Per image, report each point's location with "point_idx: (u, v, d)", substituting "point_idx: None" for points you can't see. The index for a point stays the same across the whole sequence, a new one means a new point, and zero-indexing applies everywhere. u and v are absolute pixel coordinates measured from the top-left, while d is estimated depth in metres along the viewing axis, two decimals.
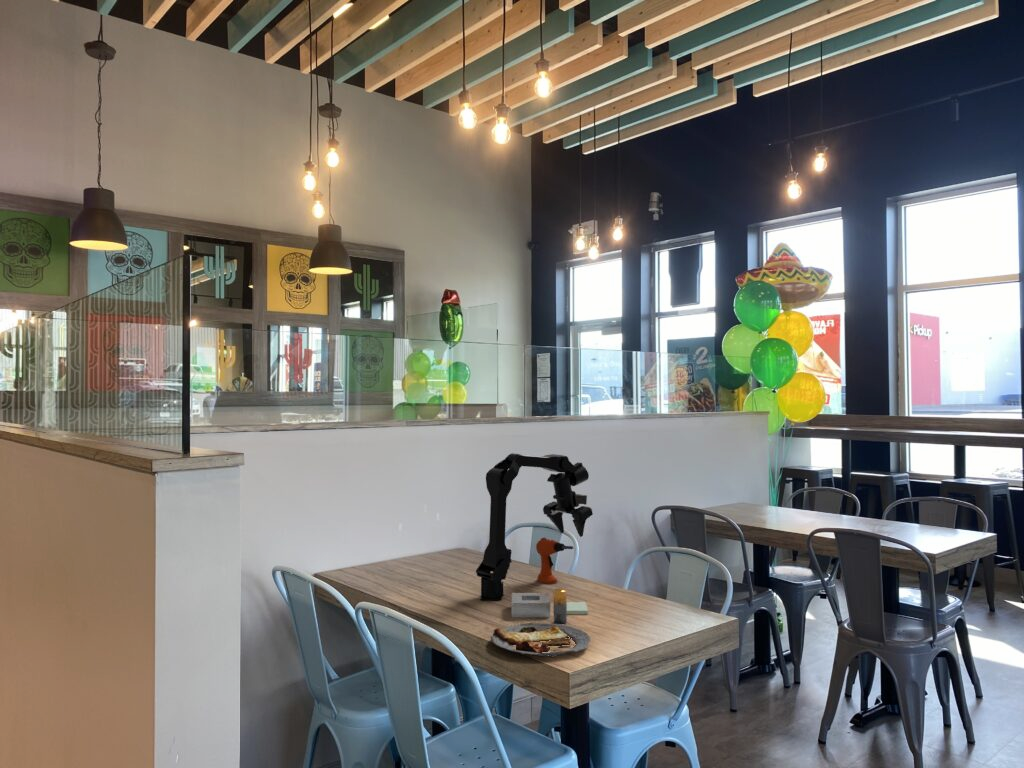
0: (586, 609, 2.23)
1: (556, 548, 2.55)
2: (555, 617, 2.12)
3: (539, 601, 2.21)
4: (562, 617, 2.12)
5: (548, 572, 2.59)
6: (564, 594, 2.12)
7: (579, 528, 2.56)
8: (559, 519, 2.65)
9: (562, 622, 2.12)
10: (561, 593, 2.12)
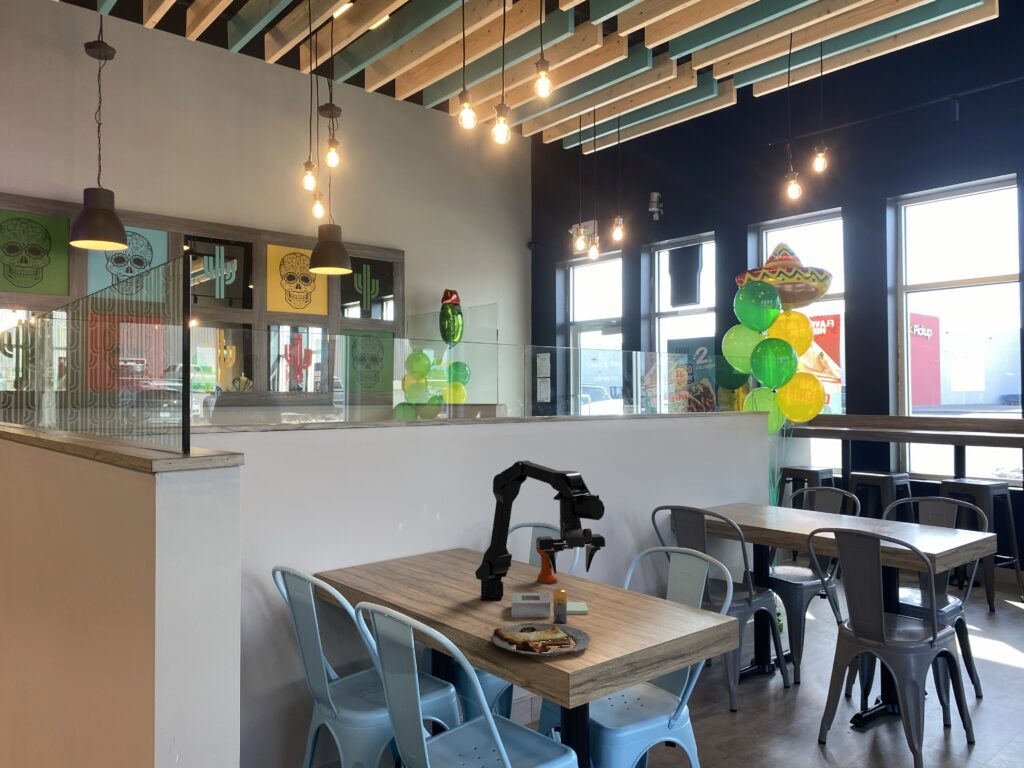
0: (586, 609, 2.23)
1: (556, 548, 2.55)
2: (555, 617, 2.12)
3: (539, 601, 2.21)
4: (562, 617, 2.12)
5: (548, 572, 2.59)
6: (564, 594, 2.12)
7: (549, 560, 2.17)
8: (587, 554, 2.17)
9: (562, 622, 2.12)
10: (561, 593, 2.12)
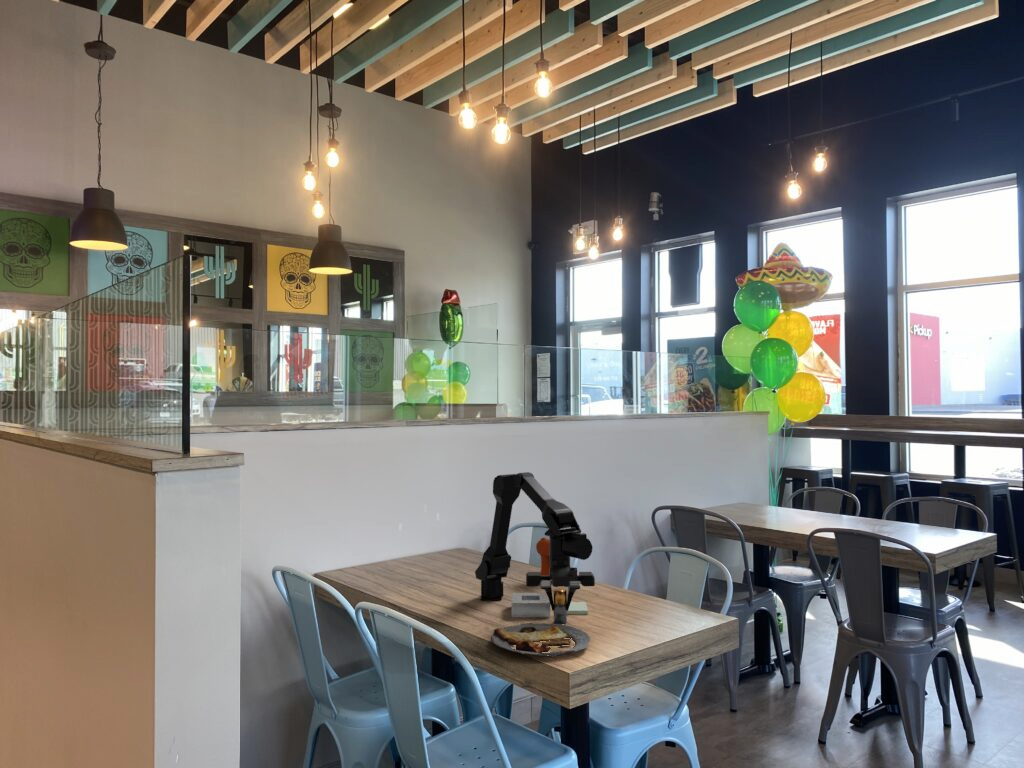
0: (586, 609, 2.23)
1: None
2: (555, 617, 2.12)
3: (539, 601, 2.21)
4: (563, 617, 2.12)
5: (548, 572, 2.59)
6: (564, 594, 2.12)
7: None
8: (568, 592, 2.14)
9: (562, 622, 2.12)
10: (561, 593, 2.12)
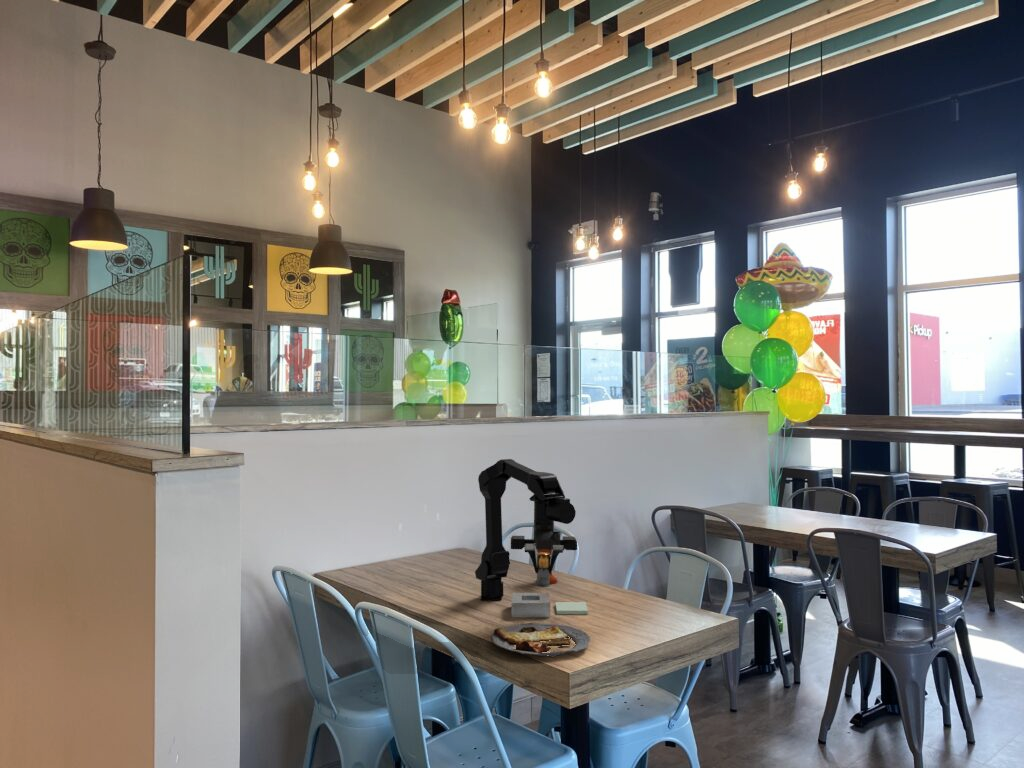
0: (586, 609, 2.23)
1: None
2: (538, 579, 2.19)
3: (539, 601, 2.21)
4: (545, 580, 2.18)
5: None
6: (547, 557, 2.18)
7: None
8: (551, 556, 2.20)
9: (545, 584, 2.18)
10: (544, 556, 2.18)
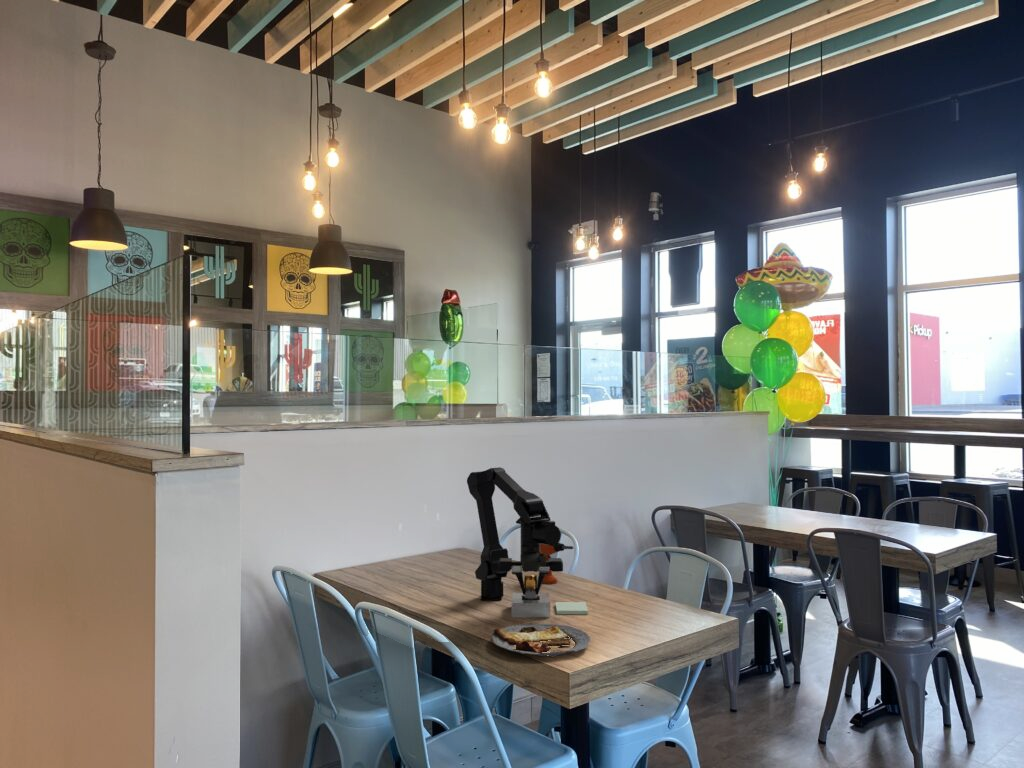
0: (586, 609, 2.23)
1: (556, 548, 2.55)
2: None
3: (539, 601, 2.21)
4: None
5: None
6: (534, 579, 2.23)
7: None
8: None
9: None
10: (531, 578, 2.23)
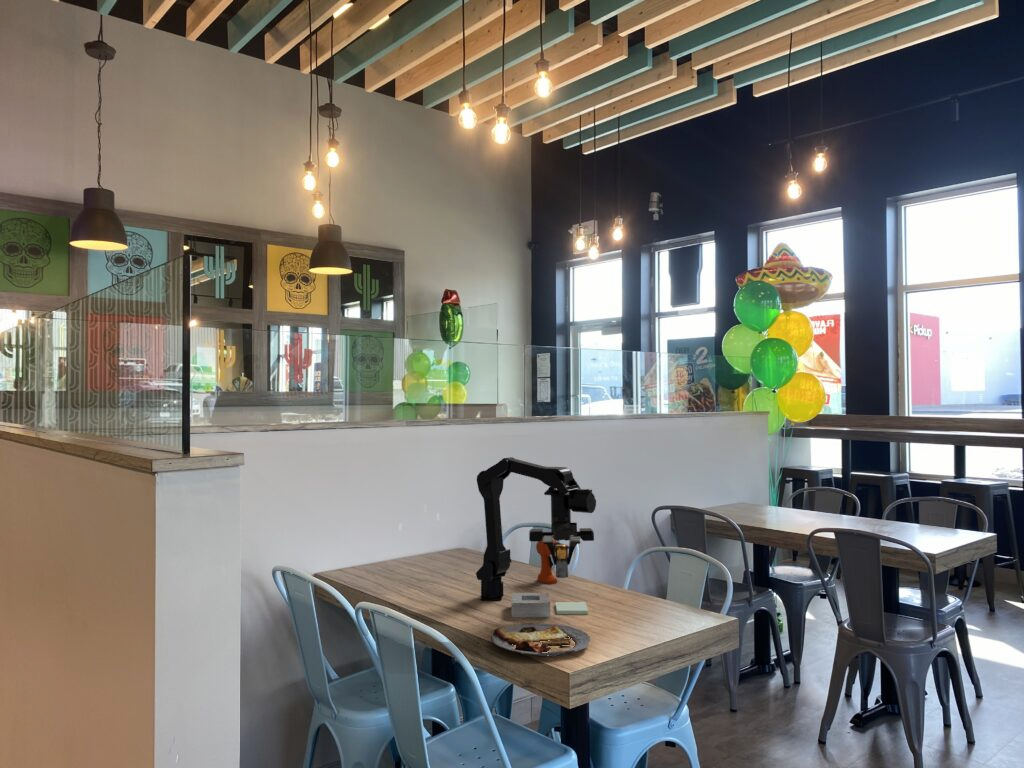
0: (586, 609, 2.23)
1: None
2: (557, 570, 2.25)
3: (539, 601, 2.21)
4: (564, 570, 2.24)
5: (548, 572, 2.59)
6: (565, 549, 2.24)
7: None
8: None
9: (564, 575, 2.24)
10: (562, 548, 2.24)
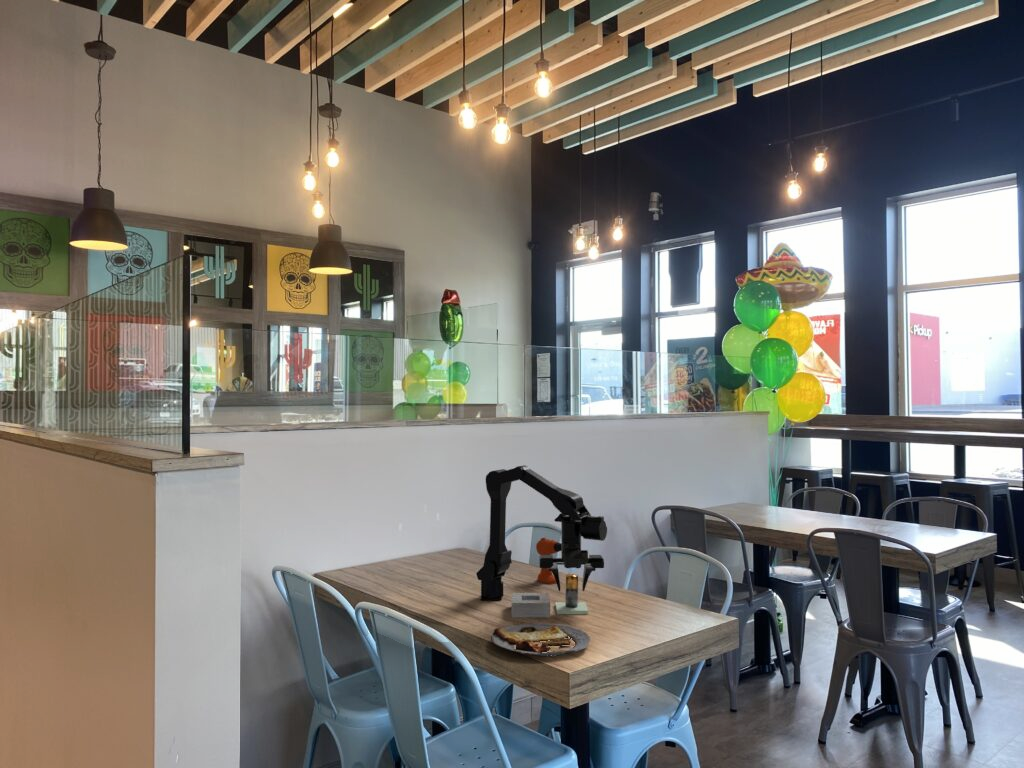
0: (586, 609, 2.23)
1: (556, 548, 2.55)
2: (567, 600, 2.25)
3: (539, 601, 2.21)
4: (574, 601, 2.25)
5: (548, 572, 2.59)
6: (576, 579, 2.25)
7: None
8: (584, 574, 2.27)
9: (573, 605, 2.25)
10: (573, 578, 2.25)
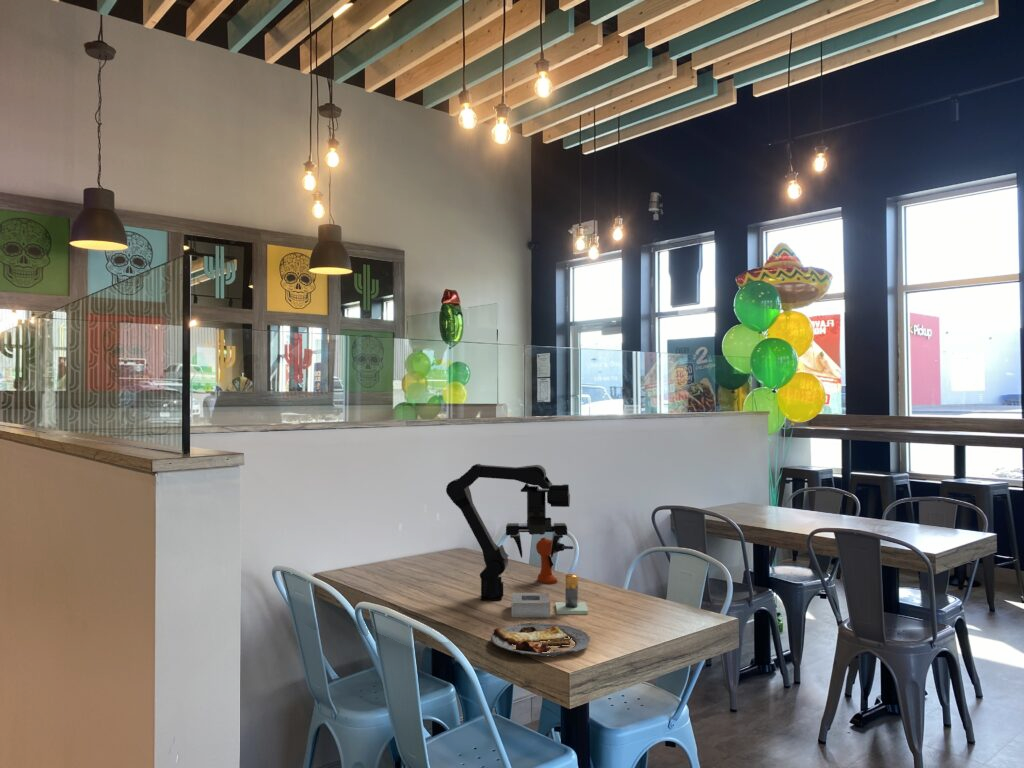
0: (586, 609, 2.23)
1: (556, 548, 2.55)
2: (567, 601, 2.25)
3: (539, 601, 2.21)
4: (574, 601, 2.25)
5: (548, 572, 2.59)
6: (576, 579, 2.25)
7: None
8: (552, 541, 2.38)
9: (574, 605, 2.25)
10: (573, 578, 2.24)
